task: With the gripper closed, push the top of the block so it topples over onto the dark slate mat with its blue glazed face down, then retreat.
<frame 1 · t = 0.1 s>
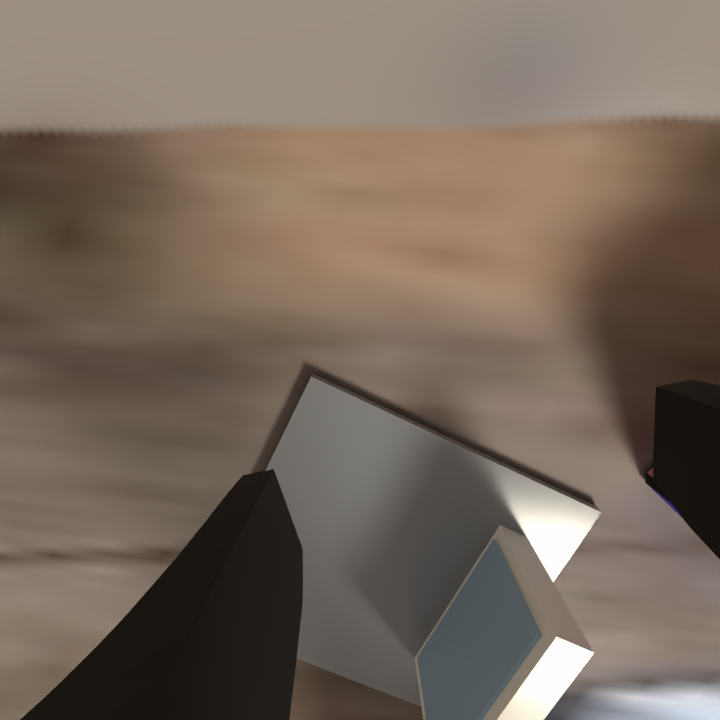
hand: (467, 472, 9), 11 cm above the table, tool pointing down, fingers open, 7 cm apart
block: (468, 599, 21), resting on slate mat
slate mat: (390, 559, 21), on the table
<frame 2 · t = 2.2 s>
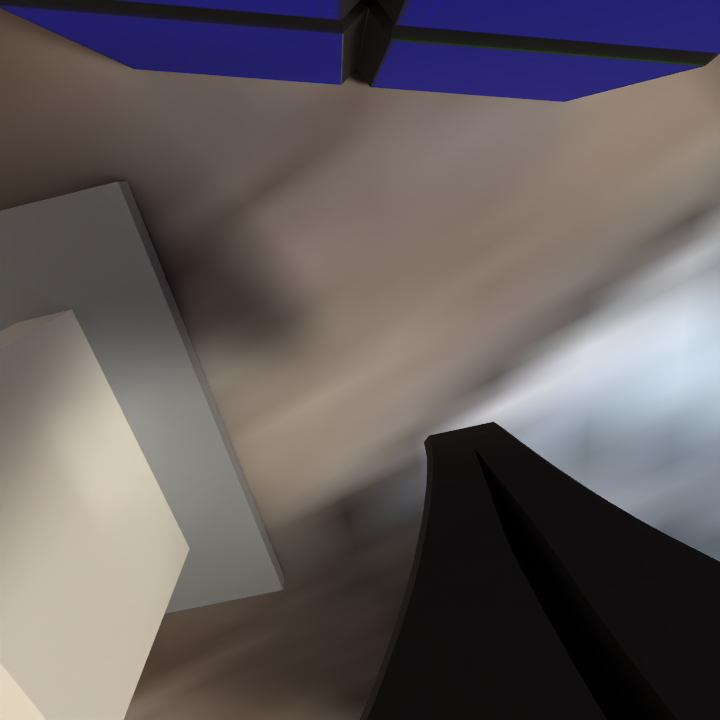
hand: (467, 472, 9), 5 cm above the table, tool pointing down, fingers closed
block: (114, 448, 13), resting on slate mat
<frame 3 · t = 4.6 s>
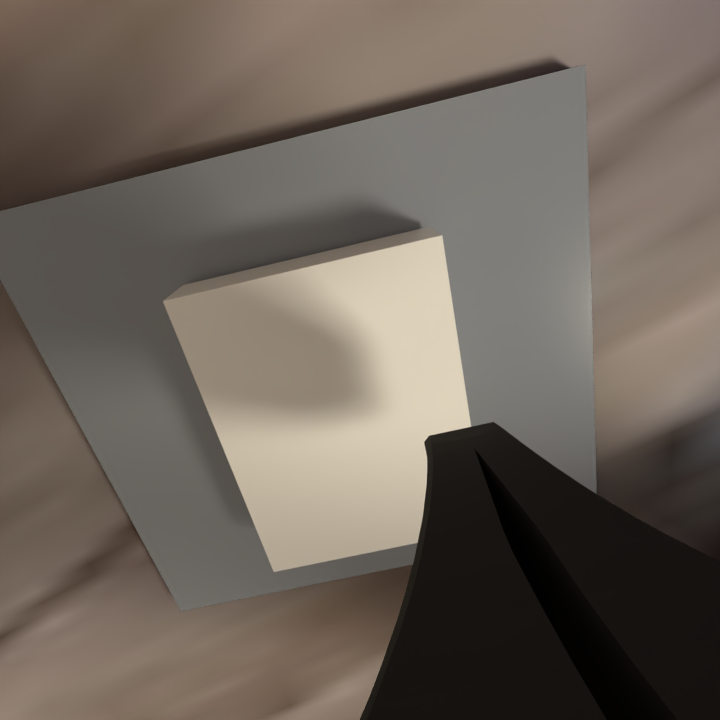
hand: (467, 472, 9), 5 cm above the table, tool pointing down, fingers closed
block: (460, 389, 12), point 1 cm above the table, tilted 90°, touching slate mat
slate mat: (337, 391, 13), on the table
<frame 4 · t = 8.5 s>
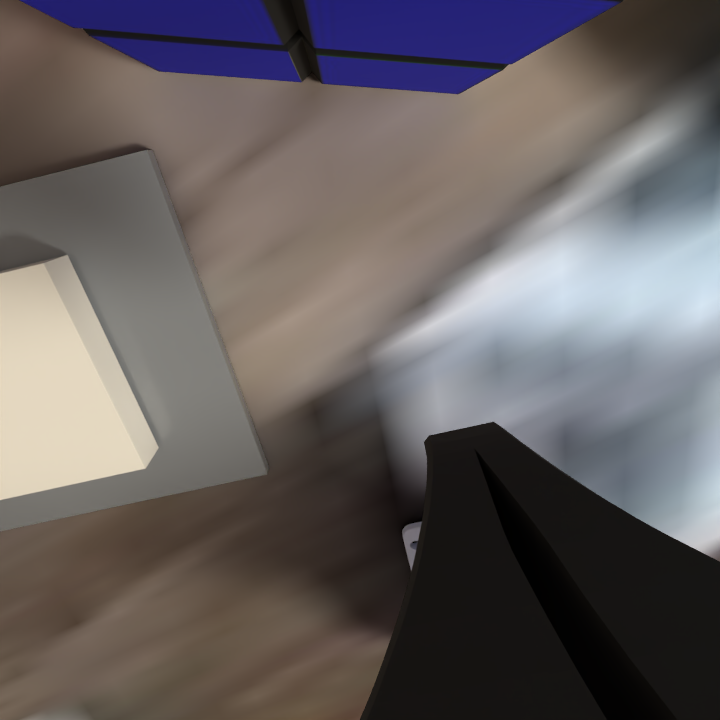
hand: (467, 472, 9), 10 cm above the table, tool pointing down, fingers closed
block: (108, 367, 17), point 1 cm above the table, tilted 90°, touching slate mat
slate mat: (47, 370, 18), on the table
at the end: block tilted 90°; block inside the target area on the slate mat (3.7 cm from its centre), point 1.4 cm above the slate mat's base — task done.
